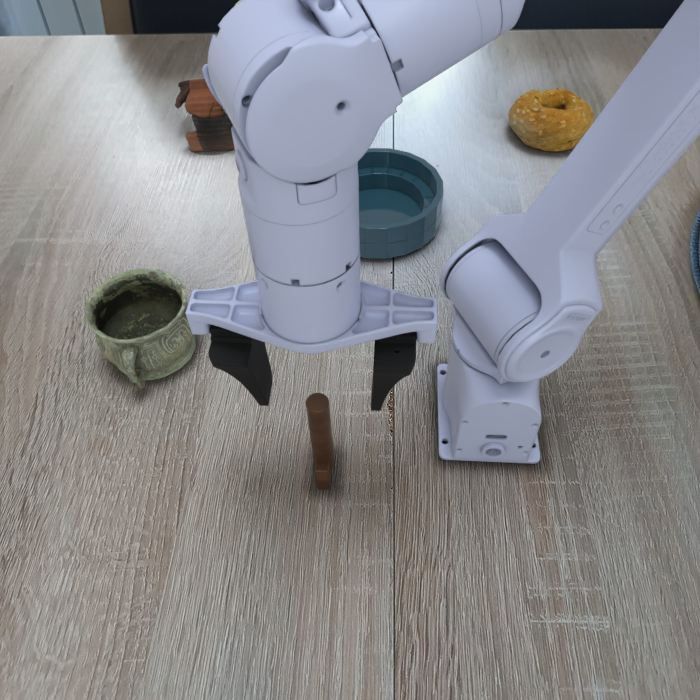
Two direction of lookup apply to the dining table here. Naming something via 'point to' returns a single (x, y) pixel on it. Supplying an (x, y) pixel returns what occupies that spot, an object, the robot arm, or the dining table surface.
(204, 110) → the pottery mug
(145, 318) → the vessel
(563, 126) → the bagel
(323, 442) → the stirring stick
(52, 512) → the dining table surface
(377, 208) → the bowl
